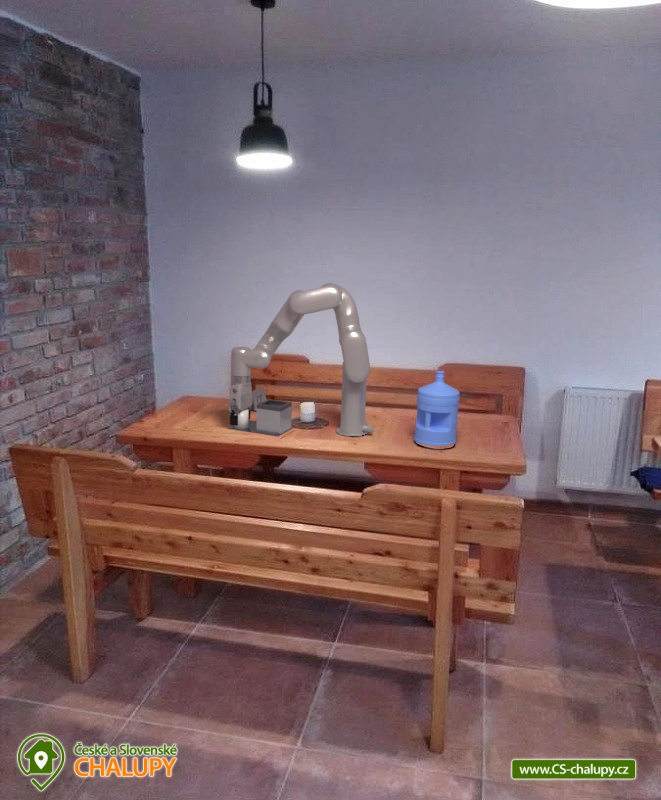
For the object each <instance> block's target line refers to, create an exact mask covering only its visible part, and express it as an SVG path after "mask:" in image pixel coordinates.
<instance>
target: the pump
mask: <svg viewBox="0 0 661 800" xmlns="http://www.w3.org/2000/svg"><path fill="white" fill-rule="evenodd" d="M234 411H236V410H234ZM237 415H238V425H237V426H235V425H232V426H233V428H235V429H246V428H248V427H249V409H247V408H246V409H243V410H239V411H238V414H237Z"/></svg>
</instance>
